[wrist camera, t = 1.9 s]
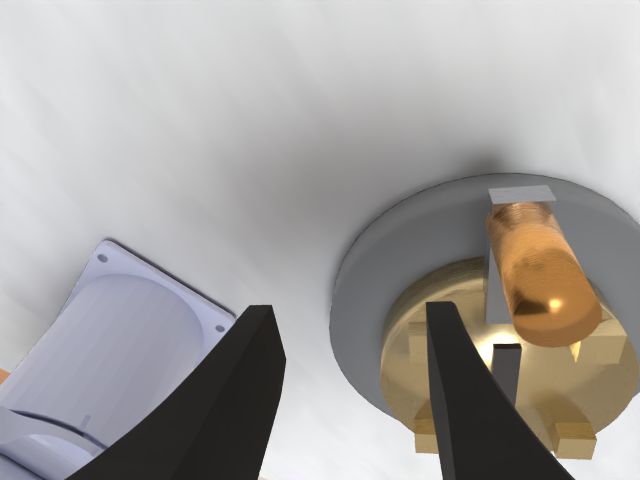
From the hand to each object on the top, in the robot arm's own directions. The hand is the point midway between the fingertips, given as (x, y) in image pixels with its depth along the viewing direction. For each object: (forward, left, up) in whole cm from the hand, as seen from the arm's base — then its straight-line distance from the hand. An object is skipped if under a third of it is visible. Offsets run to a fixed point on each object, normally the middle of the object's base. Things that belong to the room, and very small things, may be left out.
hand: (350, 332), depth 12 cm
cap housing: (-2, -9, -9) cm, 13 cm away
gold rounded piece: (-1, -8, -7) cm, 11 cm away
